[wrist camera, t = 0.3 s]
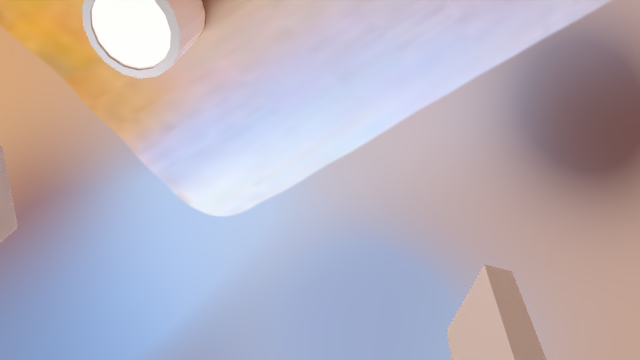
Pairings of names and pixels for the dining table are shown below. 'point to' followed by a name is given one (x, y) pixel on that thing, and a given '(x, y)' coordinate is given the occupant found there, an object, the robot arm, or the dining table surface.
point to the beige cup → (142, 32)
